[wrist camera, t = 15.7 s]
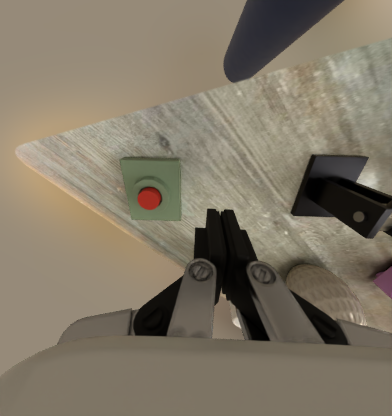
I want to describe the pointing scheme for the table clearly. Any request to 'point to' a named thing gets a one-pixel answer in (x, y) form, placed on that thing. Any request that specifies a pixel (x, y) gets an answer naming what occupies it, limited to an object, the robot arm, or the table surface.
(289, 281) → the vase
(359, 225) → the bracket
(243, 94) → the table surface
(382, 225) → the lever
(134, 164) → the button box
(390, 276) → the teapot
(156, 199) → the button
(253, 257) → the robot arm
